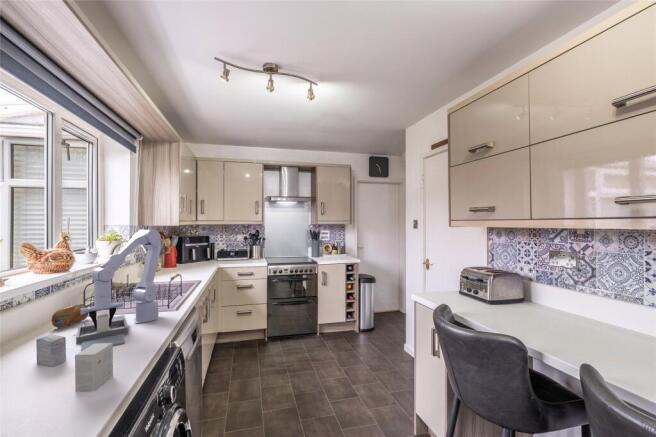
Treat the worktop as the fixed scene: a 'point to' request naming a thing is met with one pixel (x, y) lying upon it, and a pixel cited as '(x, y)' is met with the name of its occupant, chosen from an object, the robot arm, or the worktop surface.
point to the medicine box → (51, 350)
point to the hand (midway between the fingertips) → (103, 327)
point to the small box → (93, 366)
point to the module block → (102, 322)
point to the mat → (104, 341)
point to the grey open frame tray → (90, 326)
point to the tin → (68, 316)
